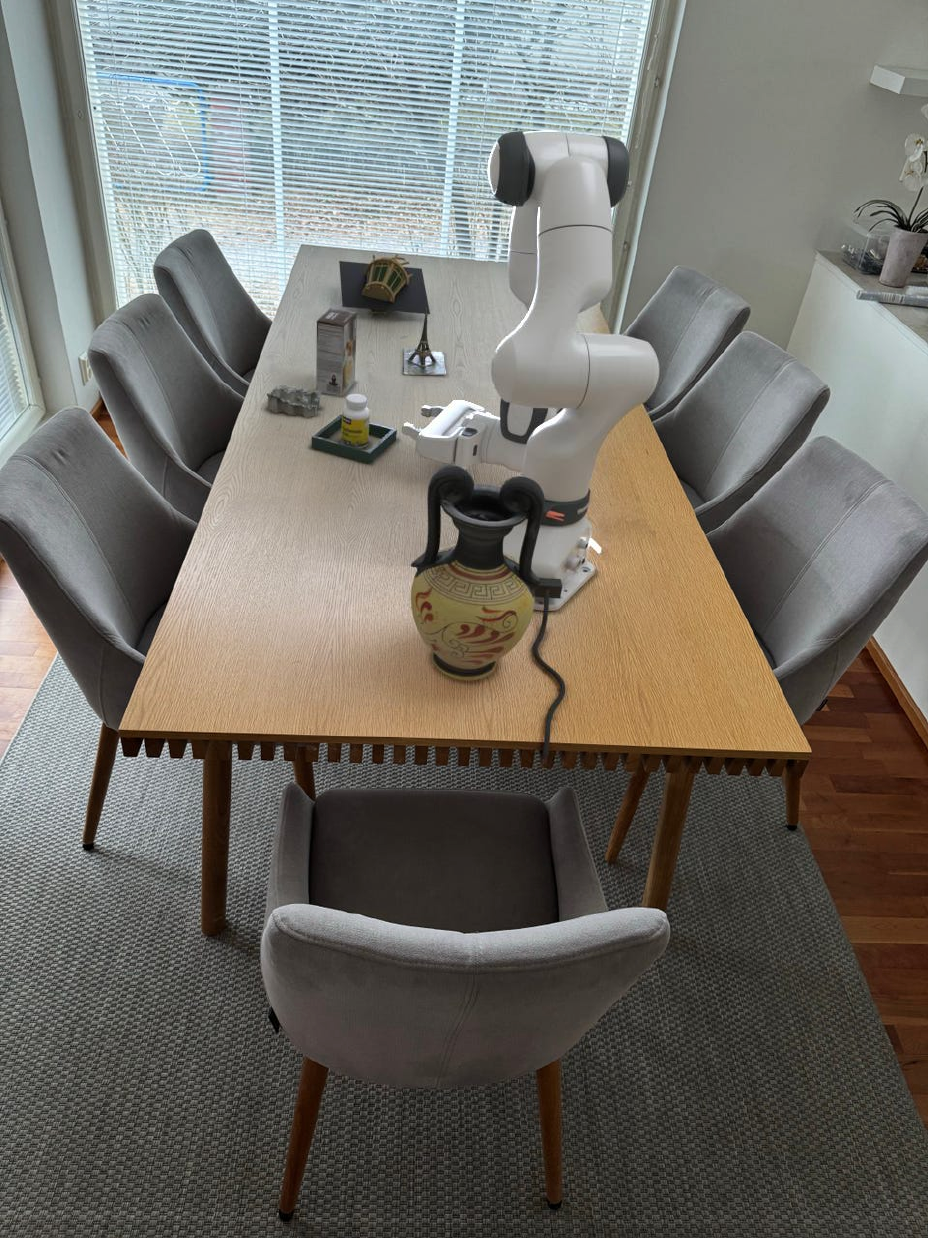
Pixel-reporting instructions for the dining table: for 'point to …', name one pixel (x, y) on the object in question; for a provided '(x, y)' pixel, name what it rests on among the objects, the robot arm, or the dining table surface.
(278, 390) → the egg carton
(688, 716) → the dining table surface
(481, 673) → the amphora
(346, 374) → the coffee box
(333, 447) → the square frame
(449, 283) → the dining table surface
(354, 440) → the supplement bottle
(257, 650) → the dining table surface
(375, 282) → the lantern
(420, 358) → the eiffel tower figurine
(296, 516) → the dining table surface
